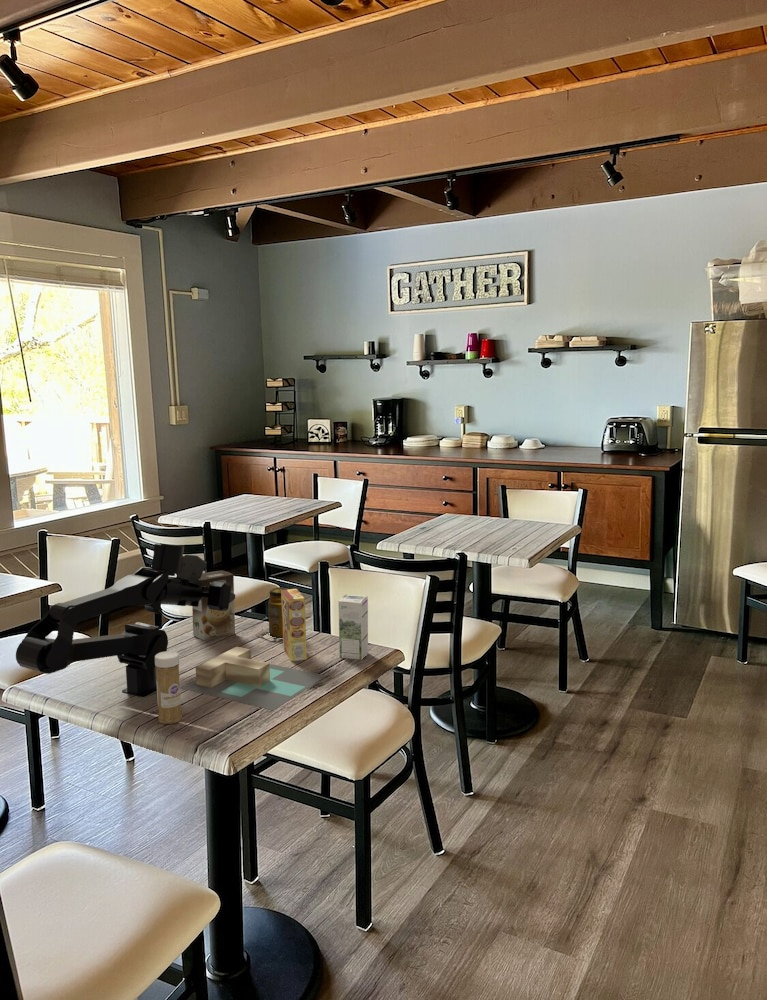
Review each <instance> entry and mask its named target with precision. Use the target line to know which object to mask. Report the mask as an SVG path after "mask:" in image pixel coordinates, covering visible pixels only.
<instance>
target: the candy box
mask: <svg viewBox="0 0 767 1000" xmlns="http://www.w3.org/2000/svg"><path fill="white" fill-rule="evenodd" d="M287 589H288V590H281V601H282V625H283V639H282V643H283V651H284V652H285V654H286V656H287V658H288V659H289V661H290V662H295V661H296V662H297V661H303V660H307V659H308V654H307V653H308V651H307V648H308V647H307V632H306V631H307V628H306V627H307V626H306V625H307V624H306V623H307V621H306V598H305V597H304V595H303V594H302V593H301V592H300V591H299V590H298V589H297V588H290V589H289V588H287Z"/></svg>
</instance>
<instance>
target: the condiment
mask: <svg viewBox="0 0 767 1000" xmlns="http://www.w3.org/2000/svg"><path fill="white" fill-rule="evenodd" d="M288 589H289V588H287V587H274V588H272V589H270V591H269V600H268V603H267V604H268V605H267V607H268V631H266V632H263V633H262V632H261V633H258V634H256V637H259V638H261V637H263V636H264V635H266V634H265V633H268V632H269V633H270V636H272V637H276V638H283V625H282V601H281V590H288ZM263 638H264V637H263ZM263 638H262V639H263ZM279 641H281V640H280V639H279Z"/></svg>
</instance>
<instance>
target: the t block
mask: <svg viewBox="0 0 767 1000" xmlns="http://www.w3.org/2000/svg"><path fill="white" fill-rule="evenodd" d="M251 650H252V649H250V648H245V647H240V646H234V647H233V648H231V649H229V650H227V651H225V652H223V653H221V654H219V655H217V656H215V657H213V658H211V659H208V660H207V661H204V662H202V663H200V664H199V665H197V666H195V679H196V680H195V681H196V684H197V685H201V686H205V687H209V688H212V687H213V686H215V685H217V684H219V683H221V682H223V681H224V680H230V681H234V682H238V683H243V684H247V685H252V686H256V687H260V686H262V685H264V684H265V683H267V682H269V681H270V664H271V663H270V662H264V661H260V660H255V659H252V653H251V652H252V651H251Z"/></svg>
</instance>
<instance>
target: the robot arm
mask: <svg viewBox="0 0 767 1000" xmlns="http://www.w3.org/2000/svg"><path fill="white" fill-rule="evenodd" d="M184 551H185V546H182V545H175V544H169V543H167V544H166V543H161V542H160V543H154V547H153V556H152V560H151V561H152V562H151V567H149V566H148V567H147V566H141V567H139V568H138V569H137V570H136V571H135V572H132V574H127V575H126V576H124V577H122V578H120V579H118V580H116V582H114V584H113V585H111V586H110V587H108V588H106V589H102V590H99V591H96V592H93V593H90V594H86V595H82V596H80V597H77V598H74V599H71V600H67V601H64V602H57V603H55V604H52V605H51V607H50V608H49V609H48V611H47V612H46V614H45V616H43V617H42V618H41V619H40V620H38V621H37V622H36V623H35V624H34V625H33V626H32V627H30V629H29V630H28V632H27V634H26V635H25V637H24V638H23V639H22V640H21V642H20V643H19V644H18V646H17V648H16V651H15V660H16V662H17V664H18V665H19V666H20V667H21V668H25V669H28V670H32V671H35V672H39V673H42V674H46V675H48V674H49V675H50V674H54V673H56V672H57V673H58V672H60V671H62V670H65V669H66V668H68V667H69V666H70V665H71V664H72V663H75V662H82V661H83V662H84V661H89V660H95V659H104V658H108V657H109V658H111V657H115V656H116V657H117V659H118V662H119V663H120V664H124V665H125V664H126V665H125V674H126V675H125V676H126V679H125V680H126V687H125V688H124V689H122V690H121V693H124V694H129V695H132V696H135V697H136V696H137V697H140V698H146V697H148V696H150V695H151V694H154V693H157V683H156V680H157V675H156V667H155V655H156V654H158V653H160V652H165V651H168V646H169V639H168V634H167V633H166V631H165V630H164V629H160V626H158V625H153V624H148V623H144V622H139V621H136V622H135V623H132V624H129V623H125V624H124V631H122V632H121V633H117V634H108V635H107V634H106V635H101V636H91V637H82V638H74V634H75V629H76V627H77V625H78V624H79V623H80V622H83V621H87V620H89V619H92V618H95V617H98V616H100V615H104V614H106V613H110V612H113V611H114V610H115V611H116V610H118V609H120V608H126V607H131V608H132V607H134V608H135V607H142V606H144V609H145V611H146V612H149V613H155V614H160V612H161V605H167V606H168V605H171V606H180V607H187V606H189V607H192V606H194V607H198V605H199V601H200V600H201V598H202V597H208V602H207V606H208V608H209V609H212V610H219V611H227V610H228V608H229V603H230V602H232V601H233V600H234V601H235V599H236V593H234V594H233V593H231V585H230V583H221V582H212V583H211V584H210V587H203V580H199V579H200V578H201V576H202V573H204V572H205V571H204V570H205V568H206V567H207V562H206V561H205V560H204V559H203V558H201V557H200V556H198V555H196V554H194V555H193V554H185V555H184ZM206 591H207V592H209V593H207V592H206ZM57 628H58V630H57V636H56V638H49V637H48V636H49V635H50V634H51V633H52V632H54V630H56V629H57Z"/></svg>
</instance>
